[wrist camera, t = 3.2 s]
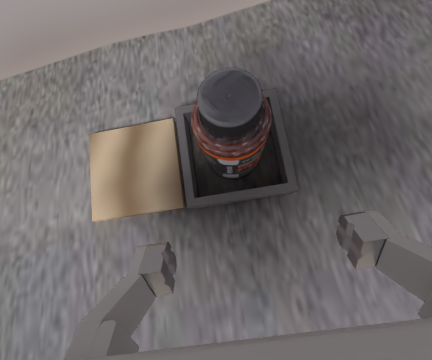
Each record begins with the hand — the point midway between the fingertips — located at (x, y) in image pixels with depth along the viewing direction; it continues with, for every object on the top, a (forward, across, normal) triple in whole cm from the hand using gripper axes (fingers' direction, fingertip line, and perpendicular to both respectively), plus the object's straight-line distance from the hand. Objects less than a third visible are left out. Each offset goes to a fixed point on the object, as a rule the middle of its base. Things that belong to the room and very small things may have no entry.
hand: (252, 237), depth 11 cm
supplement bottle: (+14, 0, +3) cm, 15 cm away
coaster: (+14, +11, +3) cm, 18 cm away
